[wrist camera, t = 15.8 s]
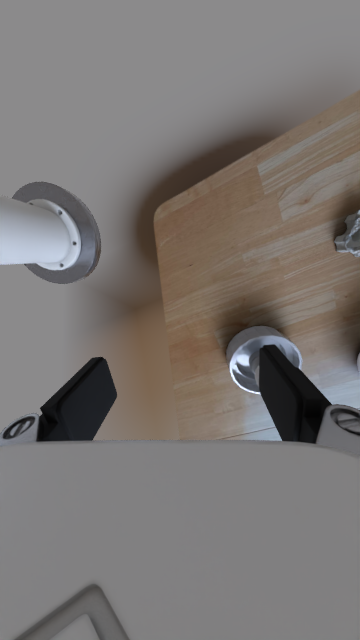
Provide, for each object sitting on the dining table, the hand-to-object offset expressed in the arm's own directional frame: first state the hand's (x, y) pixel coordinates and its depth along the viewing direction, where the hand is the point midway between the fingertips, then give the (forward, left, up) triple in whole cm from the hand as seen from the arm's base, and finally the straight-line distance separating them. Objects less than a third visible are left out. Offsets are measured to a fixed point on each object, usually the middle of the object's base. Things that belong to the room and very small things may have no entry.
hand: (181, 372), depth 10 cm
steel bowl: (+18, -11, -28) cm, 35 cm away
